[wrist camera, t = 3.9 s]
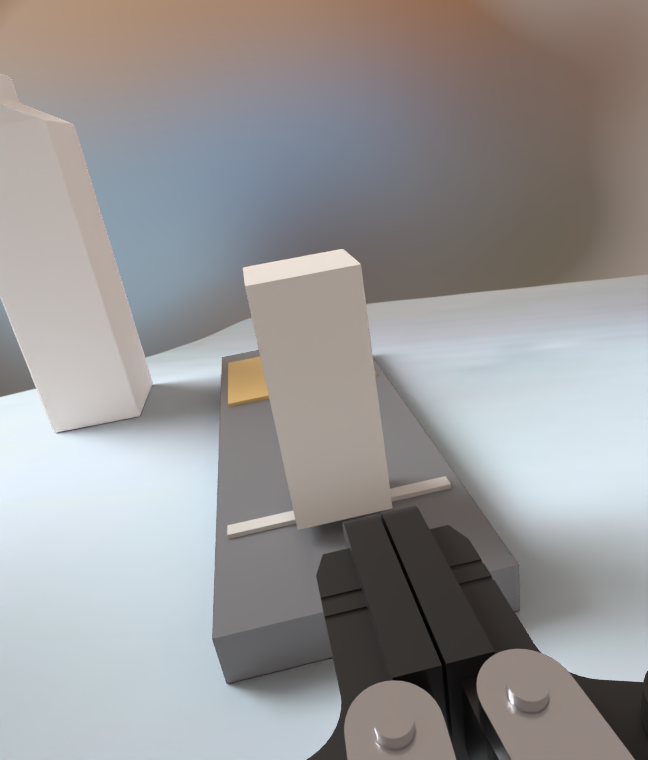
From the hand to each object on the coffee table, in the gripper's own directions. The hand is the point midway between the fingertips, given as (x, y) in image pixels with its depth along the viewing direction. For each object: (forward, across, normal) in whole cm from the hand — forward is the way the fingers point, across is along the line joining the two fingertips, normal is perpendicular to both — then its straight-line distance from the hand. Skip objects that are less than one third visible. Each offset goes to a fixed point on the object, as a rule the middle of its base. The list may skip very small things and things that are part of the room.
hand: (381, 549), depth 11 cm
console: (+18, 0, +8) cm, 19 cm away
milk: (+30, +14, +8) cm, 34 cm away
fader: (+10, 0, +5) cm, 11 cm away
